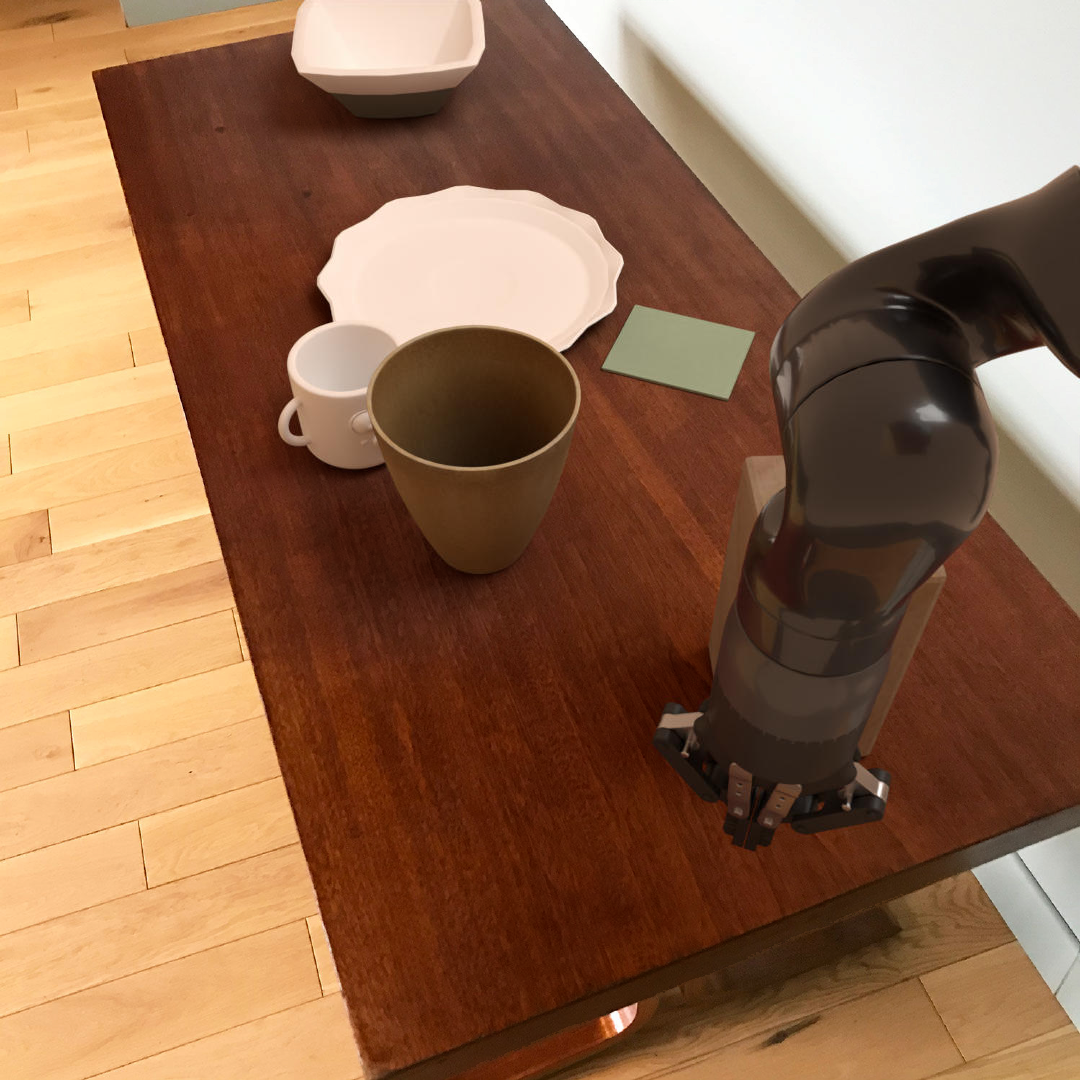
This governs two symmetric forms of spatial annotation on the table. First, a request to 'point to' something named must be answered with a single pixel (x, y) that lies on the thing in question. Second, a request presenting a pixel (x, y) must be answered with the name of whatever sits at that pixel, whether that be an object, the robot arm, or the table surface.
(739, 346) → the mat
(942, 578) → the wooden block
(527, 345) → the plant pot
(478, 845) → the table surface
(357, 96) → the bowl
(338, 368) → the mug
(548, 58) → the table surface
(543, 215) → the plate
